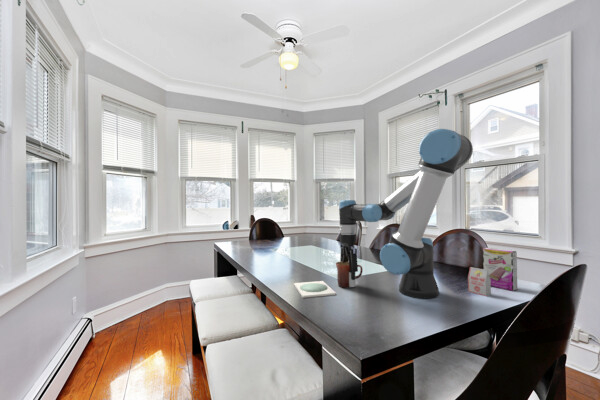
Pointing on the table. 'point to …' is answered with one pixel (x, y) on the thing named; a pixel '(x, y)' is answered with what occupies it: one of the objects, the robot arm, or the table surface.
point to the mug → (345, 273)
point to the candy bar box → (501, 267)
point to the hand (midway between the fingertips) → (348, 283)
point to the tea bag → (479, 281)
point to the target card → (314, 289)
